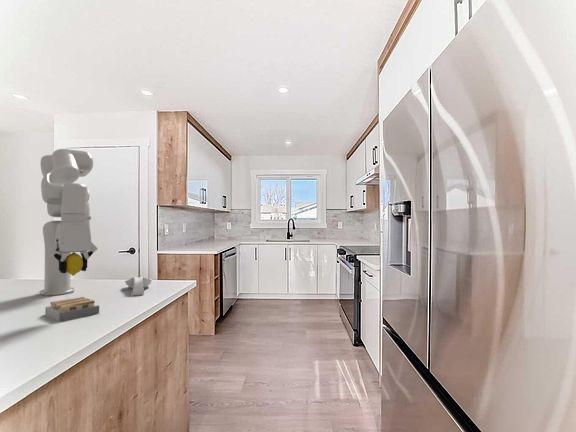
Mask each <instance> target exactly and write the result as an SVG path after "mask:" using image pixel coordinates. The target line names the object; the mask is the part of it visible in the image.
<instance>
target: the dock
mask: <svg viewBox="0 0 576 432" xmlns="http://www.w3.org/2000/svg"><path fill="white" fill-rule="evenodd" d="M44 311H45V312H44V313H45V315H46V316H47V317H49V318H51V319H54V320H56V321H57V322H64V321H69V320H74V319H78V318H82V317H86V316H87V317H88V316H93V315H97V314H100V305H98V304H95V303H94V306H92V307H86V306H83V305H82V309H77V310H76V309H73V308H70V311H67V312H62V311H59V310H57V309H55V308H52V307H51V305H50V306H45V310H44Z"/></svg>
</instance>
